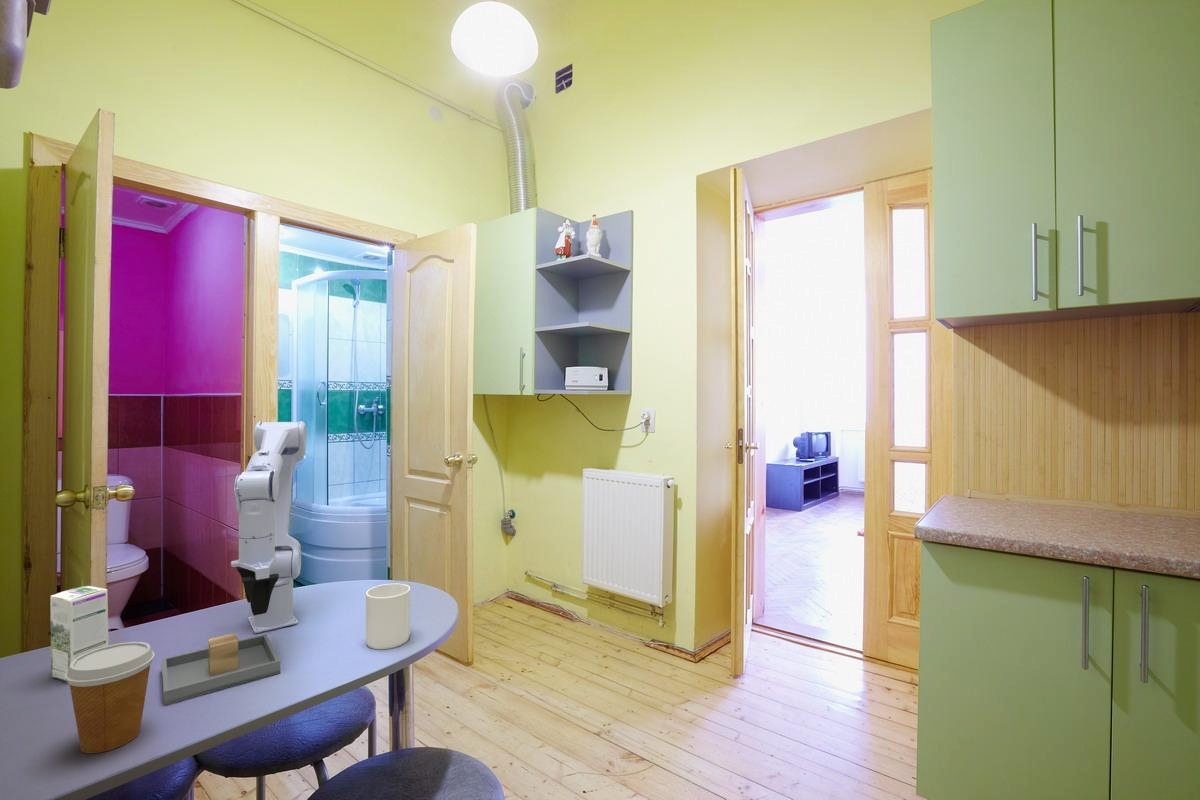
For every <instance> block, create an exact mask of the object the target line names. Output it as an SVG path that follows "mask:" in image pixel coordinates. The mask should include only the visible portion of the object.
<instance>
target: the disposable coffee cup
mask: <svg viewBox="0 0 1200 800" xmlns="http://www.w3.org/2000/svg"><path fill="white" fill-rule="evenodd" d="M155 655H156V654H155V652H154V651H153V650H152V647H151V645H150V644H149V643H147V642H145V641H128V642H120V643H114V644H110V645H108V646H105V647H102V648H99V649H95V650H92V651H90V652H87V653H85V654H83V655H81V656H79V657H77V658H76V659H74V660H73V661H72V662H71V663H70V666H69V669H68V671H67V672H66V673H65V676H64V678H65V679H66V681H67V682H66V681H65V682H66V683H67V684H68V685H69V690H70V696H71V701H72V706H73V712H74V717H75V722H76V728H77V730H76V731H77V733H78V740H79V746H80V751H81V752H83V753H85V754H98V753H104V752H107V751H112V750H114V749H117V748H119V747H122V746H123V745H125V744H128V743H130V742H131V741H133V740H134V739H135V738H136V737H138V735H139V734H140V732H141V727H142V721H143V720H142V719H143V714H144V708H145V701H146V697H147V695H146V694H147V688H148V681H149V675H150V671H151V670H150V669H151V664H152V663H153V660H154V658H155ZM132 739H133V740H132ZM129 741H130V742H129Z"/></svg>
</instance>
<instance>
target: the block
mask: <svg viewBox="0 0 1200 800" xmlns="http://www.w3.org/2000/svg"><path fill="white" fill-rule="evenodd" d="M238 641H239V639H238V637H237V633H236V632H235V633H230V634H226V635H221V636H217V637H213V638H209V639H208V641H207V642H208V645H207V646H208V647H207V648H208V668H209V673H210V676H213V675H217V674H221V673H225V672H229V671H232V670H236V669H238Z"/></svg>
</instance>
